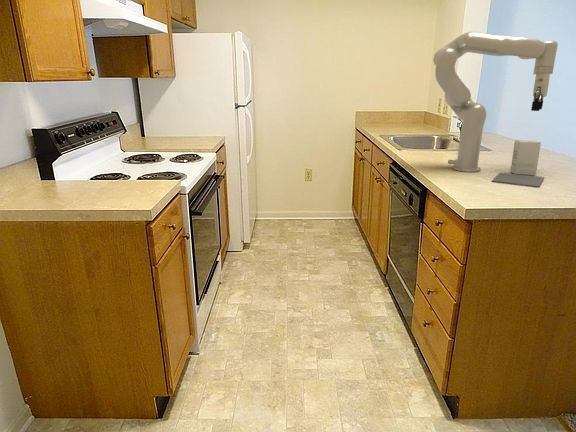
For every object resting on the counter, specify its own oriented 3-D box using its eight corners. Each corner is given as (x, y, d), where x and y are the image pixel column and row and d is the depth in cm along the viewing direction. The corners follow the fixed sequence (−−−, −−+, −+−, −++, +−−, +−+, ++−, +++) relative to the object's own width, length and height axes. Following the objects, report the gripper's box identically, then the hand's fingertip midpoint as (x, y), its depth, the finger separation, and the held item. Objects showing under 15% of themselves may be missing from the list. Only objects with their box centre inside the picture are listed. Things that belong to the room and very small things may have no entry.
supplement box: (530, 172, 196) (535, 140, 192) (536, 175, 187) (541, 141, 183) (509, 171, 198) (514, 139, 194) (514, 174, 189) (519, 141, 186)
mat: (491, 181, 179) (491, 180, 179) (499, 173, 194) (499, 172, 194) (539, 187, 169) (539, 186, 169) (543, 178, 184) (544, 177, 184)
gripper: (551, 70, 177) (543, 111, 182) (554, 70, 190) (547, 109, 195) (531, 70, 181) (524, 111, 186) (536, 71, 194) (529, 108, 200)
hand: (536, 110), depth 191 cm, fingers open, 9 cm apart
